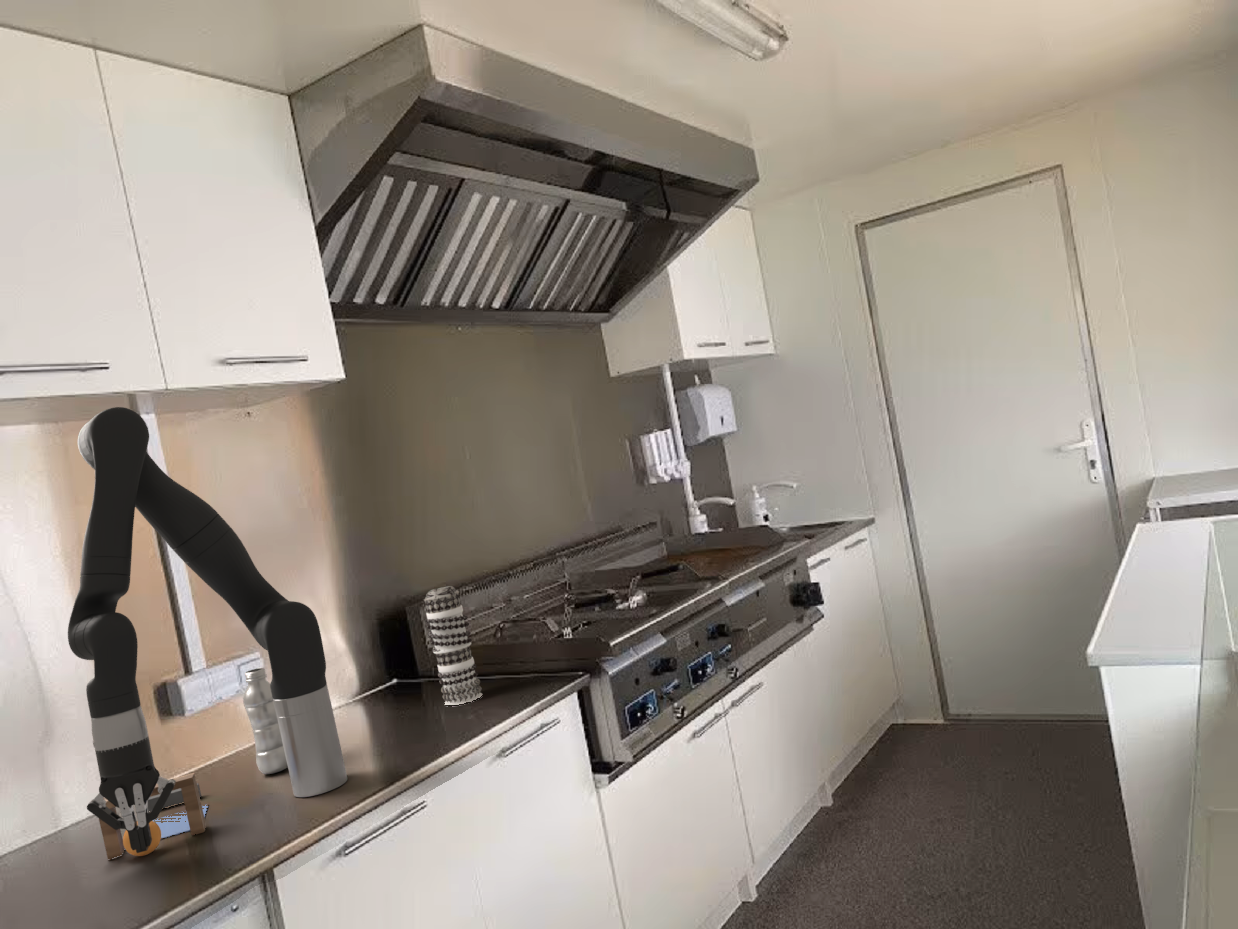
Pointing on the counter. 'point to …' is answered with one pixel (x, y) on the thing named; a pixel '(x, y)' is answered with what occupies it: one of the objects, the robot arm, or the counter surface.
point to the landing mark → (175, 824)
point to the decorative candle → (451, 646)
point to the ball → (155, 842)
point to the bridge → (185, 782)
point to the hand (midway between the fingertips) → (142, 850)
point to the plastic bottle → (264, 723)
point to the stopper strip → (173, 798)
